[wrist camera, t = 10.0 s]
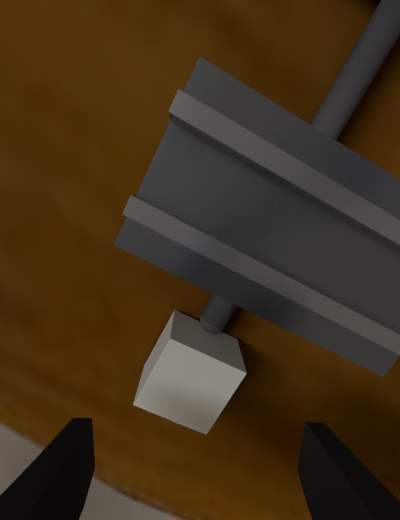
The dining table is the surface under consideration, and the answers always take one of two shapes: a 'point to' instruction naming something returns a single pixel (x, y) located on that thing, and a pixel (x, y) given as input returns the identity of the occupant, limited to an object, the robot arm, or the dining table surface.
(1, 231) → the dining table surface
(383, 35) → the white ended gray rod
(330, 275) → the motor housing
